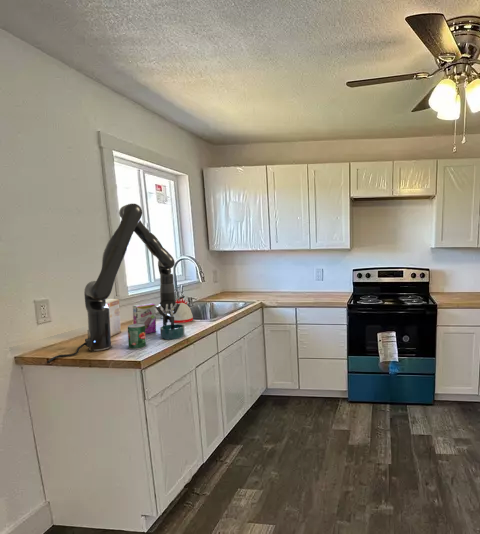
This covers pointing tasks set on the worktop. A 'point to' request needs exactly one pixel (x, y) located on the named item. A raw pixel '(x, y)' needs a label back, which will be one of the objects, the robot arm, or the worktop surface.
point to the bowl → (172, 331)
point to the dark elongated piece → (170, 320)
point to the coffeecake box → (114, 315)
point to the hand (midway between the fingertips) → (168, 321)
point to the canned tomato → (136, 336)
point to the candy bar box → (145, 316)
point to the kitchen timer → (183, 313)
